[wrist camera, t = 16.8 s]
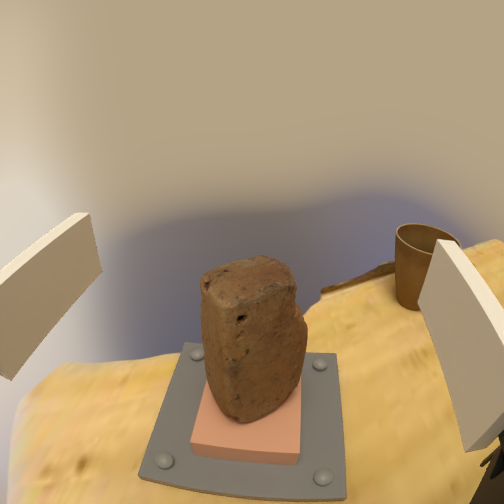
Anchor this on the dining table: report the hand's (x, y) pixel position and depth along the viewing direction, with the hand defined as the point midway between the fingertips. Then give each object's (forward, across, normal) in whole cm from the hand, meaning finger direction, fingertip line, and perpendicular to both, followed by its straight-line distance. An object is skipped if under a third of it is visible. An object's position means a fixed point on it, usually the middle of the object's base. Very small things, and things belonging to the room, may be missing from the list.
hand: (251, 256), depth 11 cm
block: (+15, -2, -30) cm, 34 cm away
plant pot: (+47, +30, -36) cm, 66 cm away
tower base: (+15, -2, -36) cm, 39 cm away
